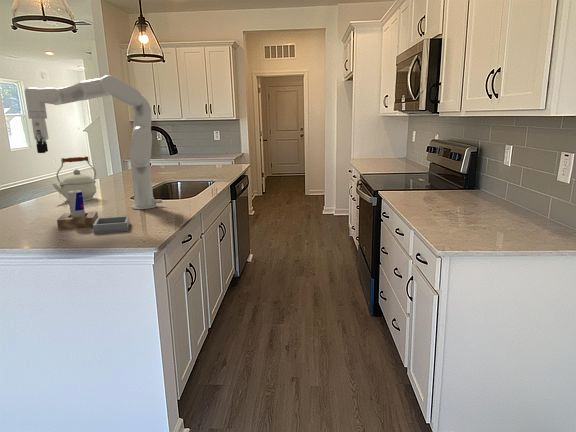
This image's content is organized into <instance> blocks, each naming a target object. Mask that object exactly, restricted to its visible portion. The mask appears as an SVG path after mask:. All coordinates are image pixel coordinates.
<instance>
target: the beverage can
mask: <svg viewBox="0 0 576 432" xmlns="http://www.w3.org/2000/svg"><path fill="white" fill-rule="evenodd" d="M68 198H69V201H68V204H69V211H70V212H69V213H71V218H73V217H85V212H86V211H85V205H84V201H83V195H82V191H80V190H75V191H69V192H68Z"/></svg>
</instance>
